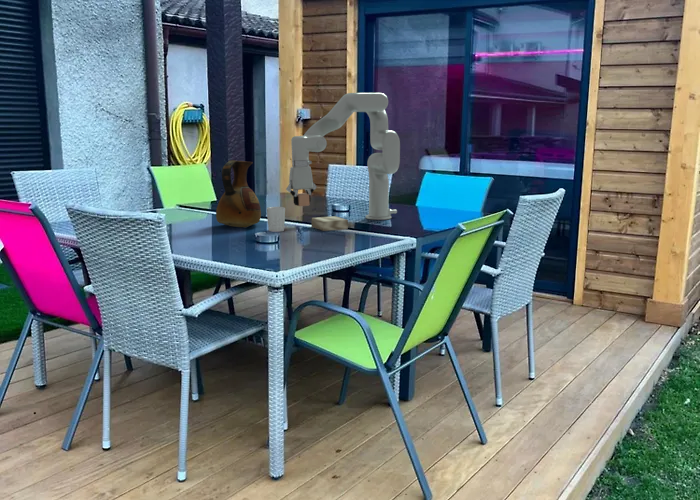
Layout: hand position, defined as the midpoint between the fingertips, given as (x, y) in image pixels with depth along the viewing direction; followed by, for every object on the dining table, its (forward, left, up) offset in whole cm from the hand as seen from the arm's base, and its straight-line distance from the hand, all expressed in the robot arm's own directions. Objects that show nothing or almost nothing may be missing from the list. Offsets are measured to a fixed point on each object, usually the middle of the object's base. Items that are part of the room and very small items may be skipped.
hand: (302, 203), depth 305 cm
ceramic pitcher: (+27, -10, -10) cm, 30 cm away
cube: (0, 0, -1) cm, 1 cm away
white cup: (+16, +7, -10) cm, 20 cm away
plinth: (-8, +11, -10) cm, 17 cm away
